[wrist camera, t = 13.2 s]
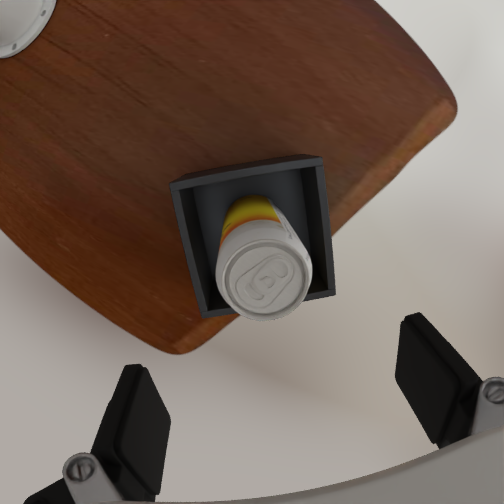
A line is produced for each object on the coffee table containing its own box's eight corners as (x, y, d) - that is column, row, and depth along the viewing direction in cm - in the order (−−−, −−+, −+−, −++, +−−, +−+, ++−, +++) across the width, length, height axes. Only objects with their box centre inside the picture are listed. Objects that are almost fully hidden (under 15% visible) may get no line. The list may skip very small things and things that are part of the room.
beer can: (211, 223, 33) (193, 283, 19) (253, 181, 32) (266, 210, 18) (253, 261, 35) (264, 342, 20) (294, 222, 33) (335, 280, 19)
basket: (184, 174, 32) (168, 183, 25) (303, 154, 32) (322, 156, 24) (208, 283, 36) (201, 318, 29) (317, 264, 36) (336, 295, 28)
